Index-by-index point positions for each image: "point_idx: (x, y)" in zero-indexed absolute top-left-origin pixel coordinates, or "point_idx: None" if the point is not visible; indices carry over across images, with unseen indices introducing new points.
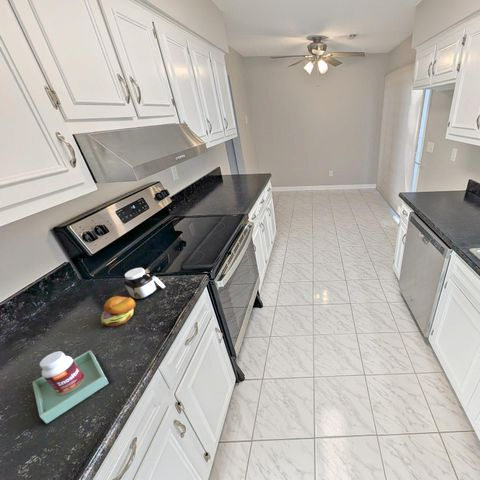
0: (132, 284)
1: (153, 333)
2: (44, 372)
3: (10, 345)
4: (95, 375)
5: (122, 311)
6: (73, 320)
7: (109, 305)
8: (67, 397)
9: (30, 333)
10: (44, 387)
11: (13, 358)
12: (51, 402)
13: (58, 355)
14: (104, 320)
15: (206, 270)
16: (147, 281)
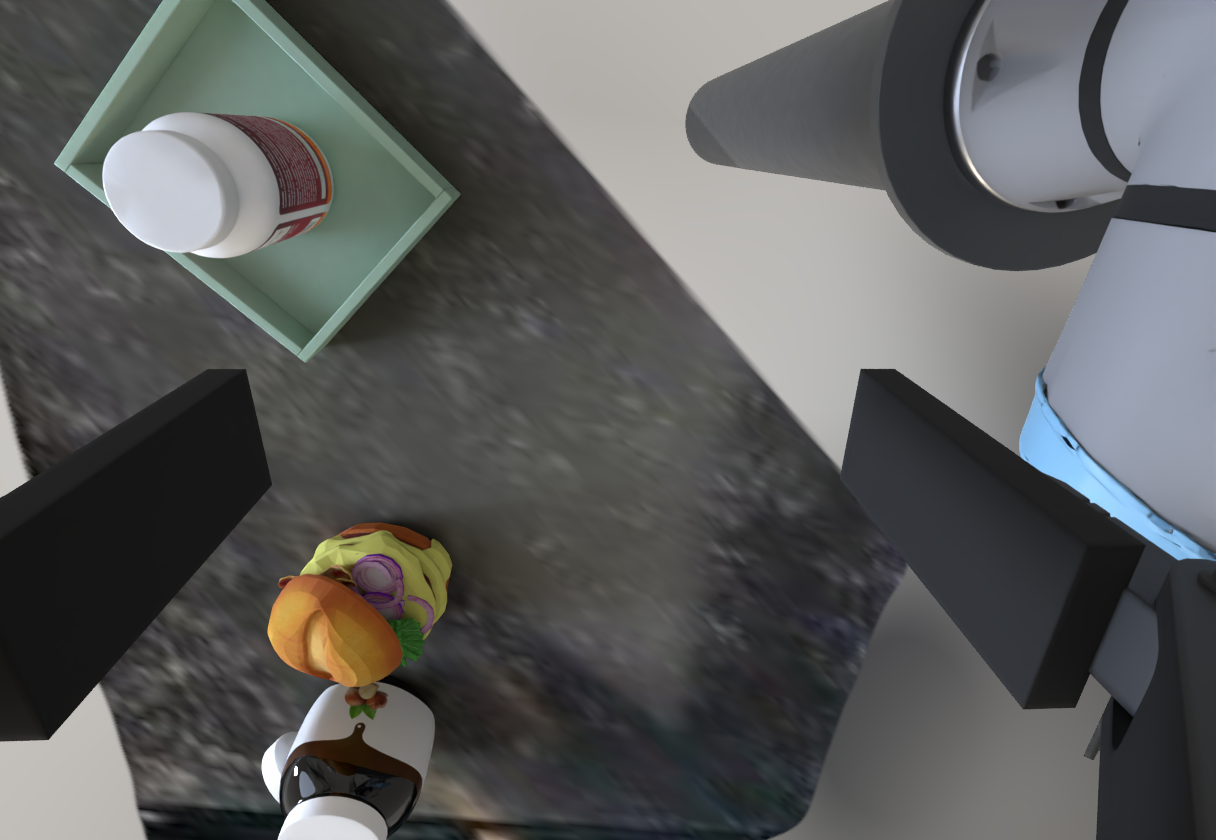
0: (336, 763)
1: None
2: (202, 130)
3: (828, 481)
4: None
5: (289, 586)
6: (634, 589)
7: (330, 622)
8: (235, 101)
9: (788, 538)
10: (421, 188)
11: (747, 401)
12: (300, 86)
13: (139, 214)
14: (382, 546)
15: (155, 828)
16: (281, 777)
